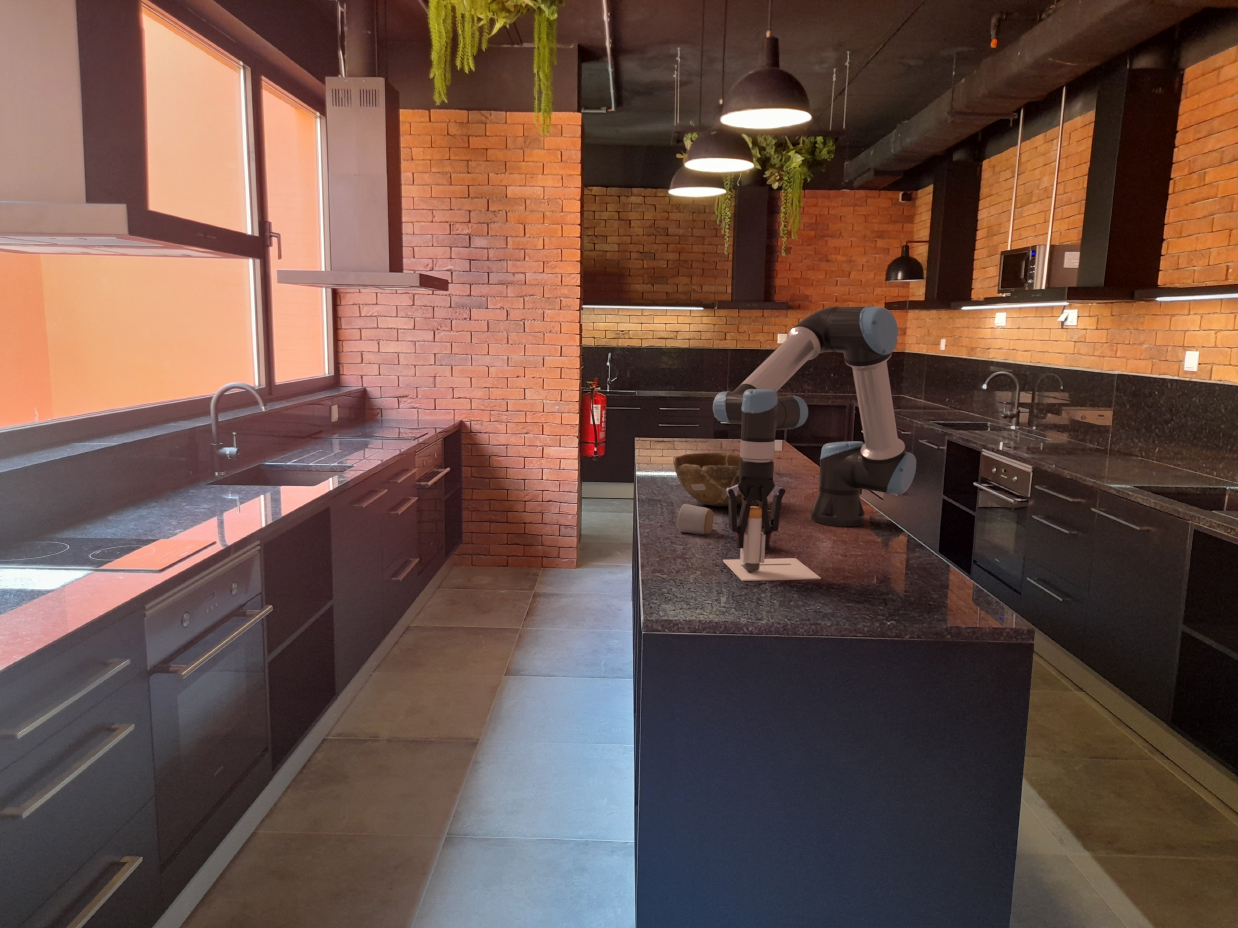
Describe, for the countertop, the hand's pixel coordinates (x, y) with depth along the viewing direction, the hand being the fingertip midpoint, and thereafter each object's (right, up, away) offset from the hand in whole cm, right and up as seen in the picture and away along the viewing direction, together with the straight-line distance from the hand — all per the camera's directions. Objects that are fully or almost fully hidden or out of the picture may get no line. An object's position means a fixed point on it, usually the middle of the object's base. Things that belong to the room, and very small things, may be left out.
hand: (752, 561), depth 191 cm
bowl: (+1, +9, +71) cm, 72 cm away
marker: (0, -2, 0) cm, 2 cm away
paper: (+5, -2, +3) cm, 6 cm away
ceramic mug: (-9, +3, +37) cm, 39 cm away
